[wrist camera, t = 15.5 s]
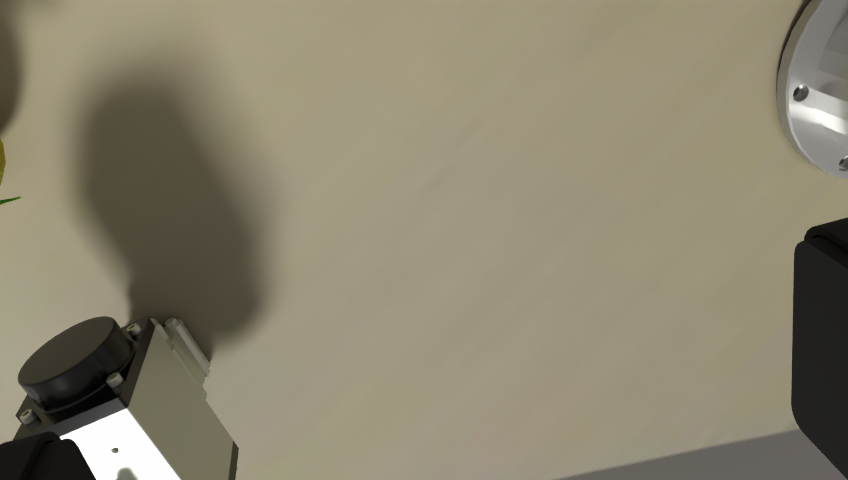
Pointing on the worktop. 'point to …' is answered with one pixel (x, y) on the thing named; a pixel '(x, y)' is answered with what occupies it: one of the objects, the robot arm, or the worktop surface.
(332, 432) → the worktop surface
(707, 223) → the worktop surface
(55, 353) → the pneumatic valve
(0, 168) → the lemon
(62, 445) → the robot arm
